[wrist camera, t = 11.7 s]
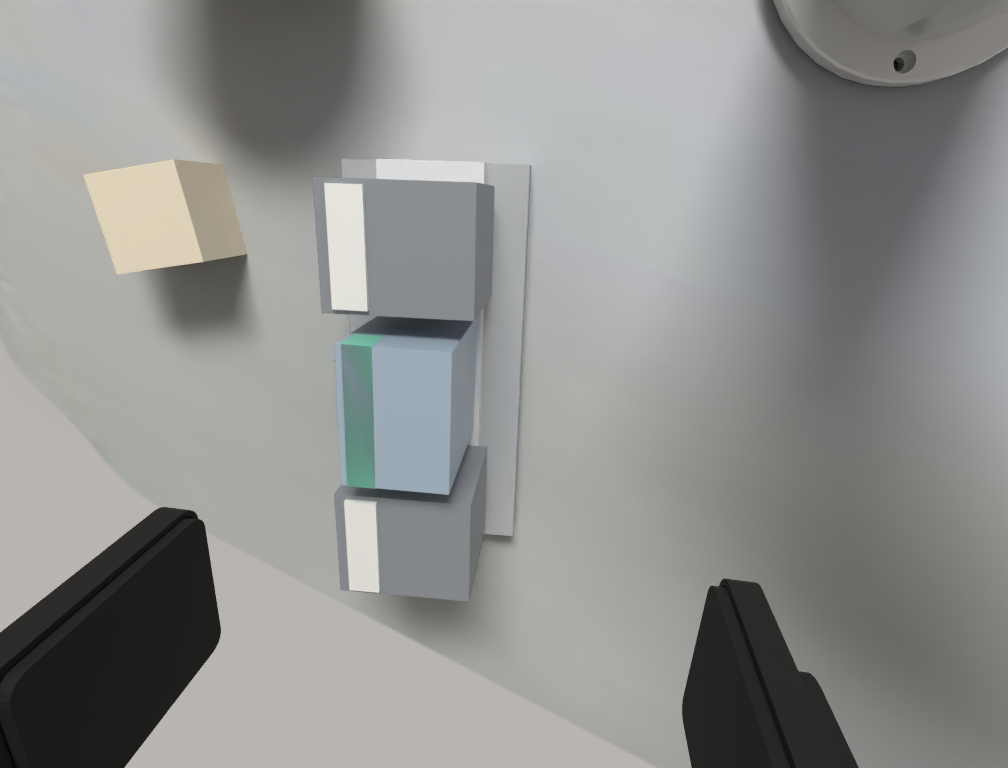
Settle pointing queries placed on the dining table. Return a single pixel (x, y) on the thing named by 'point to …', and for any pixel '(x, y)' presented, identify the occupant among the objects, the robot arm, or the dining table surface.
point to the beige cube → (166, 214)
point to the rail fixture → (431, 295)
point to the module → (405, 402)
